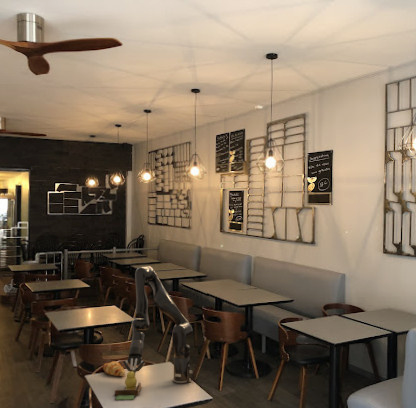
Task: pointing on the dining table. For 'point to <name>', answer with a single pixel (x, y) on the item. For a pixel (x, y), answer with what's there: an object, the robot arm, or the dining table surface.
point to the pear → (130, 380)
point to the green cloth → (125, 397)
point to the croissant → (114, 368)
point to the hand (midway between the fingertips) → (131, 377)
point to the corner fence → (128, 391)
